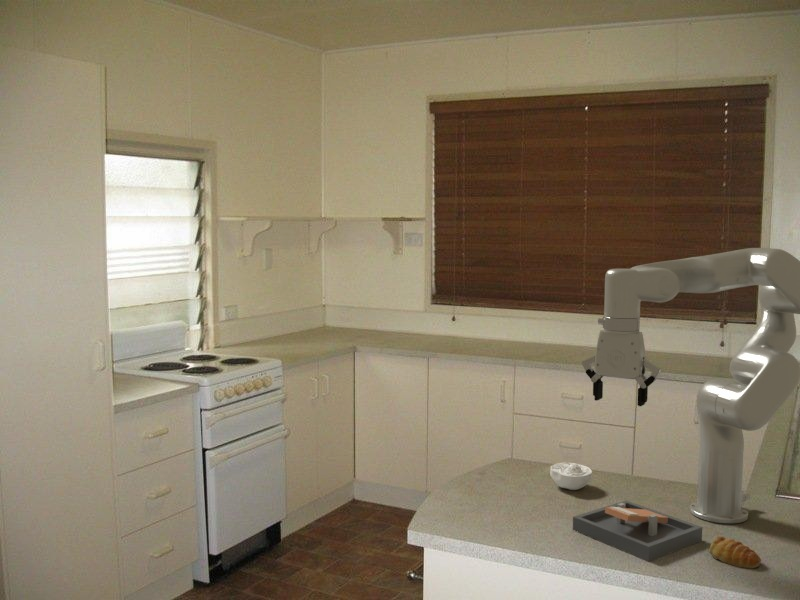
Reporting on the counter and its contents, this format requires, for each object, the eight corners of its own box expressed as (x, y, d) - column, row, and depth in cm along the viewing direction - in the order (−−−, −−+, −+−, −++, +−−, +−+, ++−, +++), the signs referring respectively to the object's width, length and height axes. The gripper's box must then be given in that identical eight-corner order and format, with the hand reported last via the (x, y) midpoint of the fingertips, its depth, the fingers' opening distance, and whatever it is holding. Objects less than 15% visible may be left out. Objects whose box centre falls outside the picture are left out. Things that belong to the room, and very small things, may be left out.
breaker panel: (625, 512, 183) (626, 489, 182) (701, 540, 167) (702, 514, 166) (572, 529, 173) (573, 504, 172) (648, 561, 156) (649, 533, 156)
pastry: (767, 564, 156) (768, 546, 155) (749, 574, 151) (750, 555, 151) (722, 549, 163) (723, 531, 163) (705, 558, 159) (705, 539, 158)
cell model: (580, 479, 208) (581, 454, 207) (598, 494, 196) (598, 468, 195) (543, 480, 206) (544, 455, 206) (559, 496, 194) (559, 469, 194)
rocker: (643, 514, 176) (644, 507, 176) (668, 523, 171) (669, 516, 171) (603, 512, 168) (604, 505, 168) (628, 521, 162) (629, 514, 163)
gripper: (577, 324, 173) (575, 400, 174) (656, 330, 163) (653, 410, 164) (590, 320, 179) (588, 394, 180) (666, 326, 169) (664, 404, 170)
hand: (619, 402), depth 172 cm, fingers open, 9 cm apart
